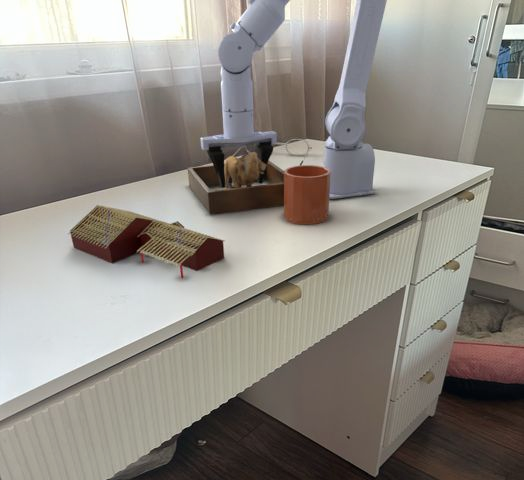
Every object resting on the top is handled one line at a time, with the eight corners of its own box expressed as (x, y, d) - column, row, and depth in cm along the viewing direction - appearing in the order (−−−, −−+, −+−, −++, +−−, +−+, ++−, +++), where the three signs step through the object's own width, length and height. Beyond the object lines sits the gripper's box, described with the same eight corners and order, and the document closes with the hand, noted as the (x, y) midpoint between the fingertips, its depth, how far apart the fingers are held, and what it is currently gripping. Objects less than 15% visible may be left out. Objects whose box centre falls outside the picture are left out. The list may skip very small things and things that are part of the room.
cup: (317, 207, 95) (319, 163, 90) (335, 221, 88) (338, 174, 84) (278, 212, 93) (277, 167, 88) (293, 227, 87) (294, 179, 82)
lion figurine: (270, 201, 99) (269, 152, 94) (246, 206, 96) (245, 156, 91) (231, 183, 109) (229, 139, 104) (209, 188, 106) (206, 142, 101)
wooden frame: (268, 178, 112) (267, 159, 110) (299, 203, 97) (299, 181, 95) (189, 187, 107) (187, 167, 105) (209, 214, 93) (207, 192, 90)
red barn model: (226, 256, 77) (224, 222, 74) (163, 287, 69) (158, 250, 66) (134, 226, 88) (129, 195, 85) (70, 248, 80) (62, 215, 77)
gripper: (268, 104, 99) (269, 175, 106) (194, 109, 95) (201, 183, 102) (280, 109, 93) (280, 184, 101) (203, 115, 89) (209, 192, 97)
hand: (241, 184), depth 101 cm, fingers open, 7 cm apart
